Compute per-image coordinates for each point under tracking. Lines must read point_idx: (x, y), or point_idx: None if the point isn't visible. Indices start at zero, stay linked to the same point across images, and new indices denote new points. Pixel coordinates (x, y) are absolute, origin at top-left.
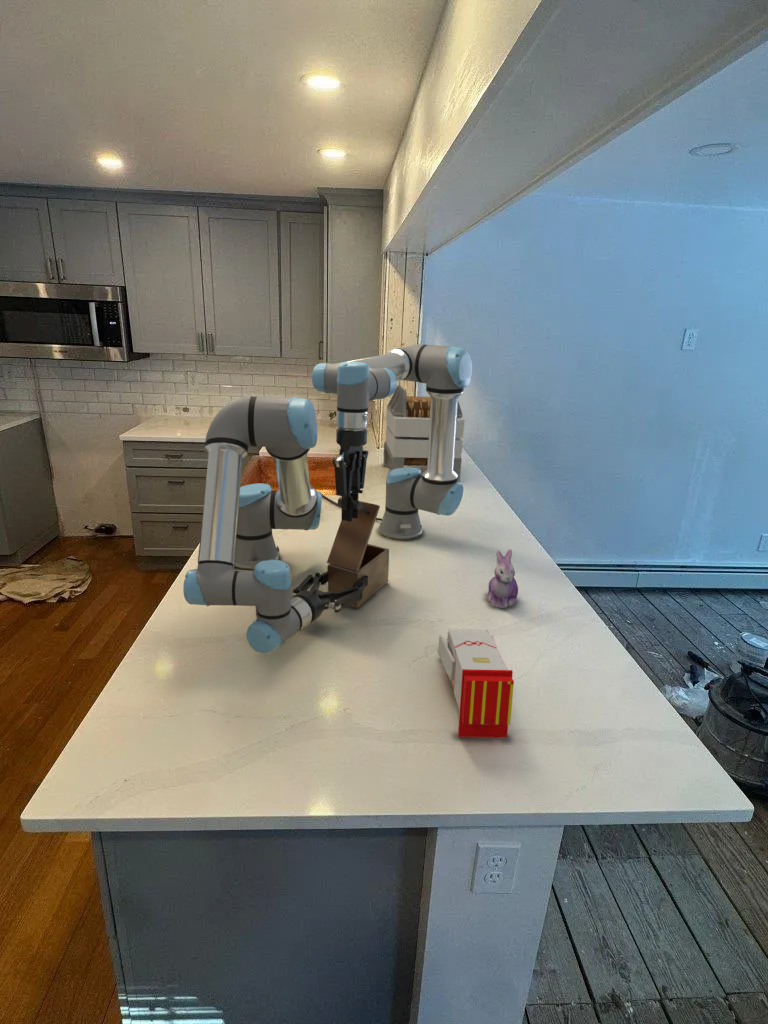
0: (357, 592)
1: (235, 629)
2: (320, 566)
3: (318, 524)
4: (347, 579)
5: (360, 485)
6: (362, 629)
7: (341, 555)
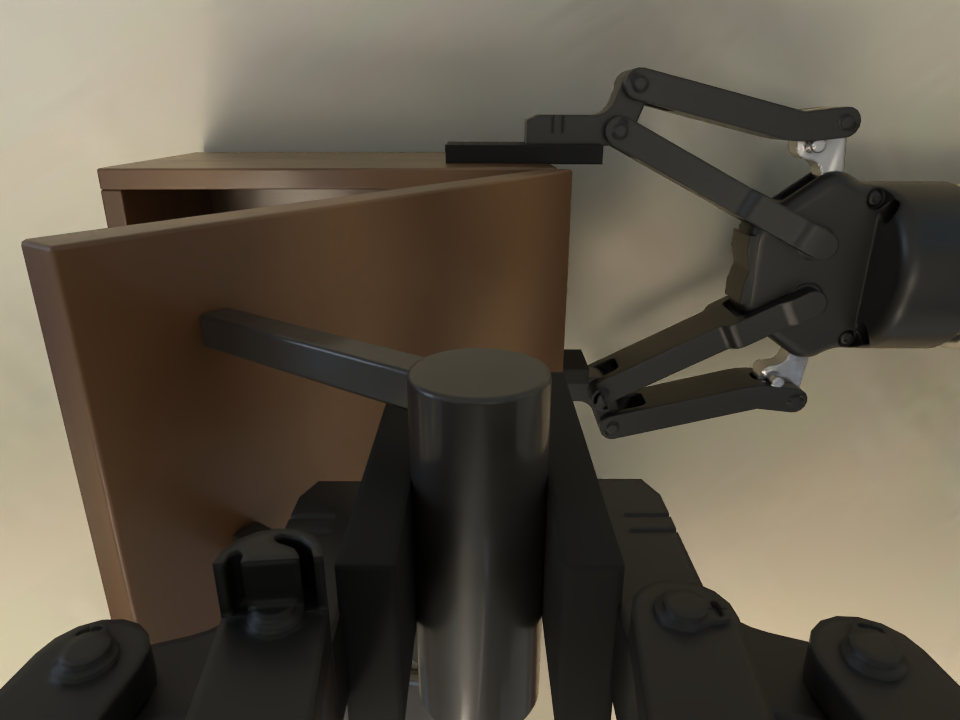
0: (676, 83)
1: (910, 474)
2: None
3: None
4: None
5: (129, 714)
6: (694, 16)
7: (530, 334)
